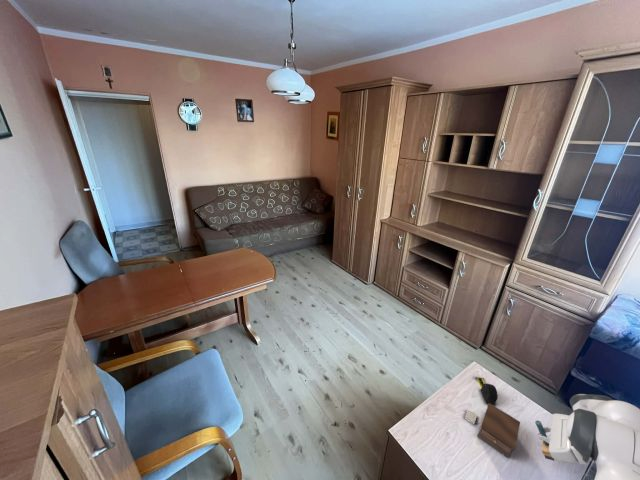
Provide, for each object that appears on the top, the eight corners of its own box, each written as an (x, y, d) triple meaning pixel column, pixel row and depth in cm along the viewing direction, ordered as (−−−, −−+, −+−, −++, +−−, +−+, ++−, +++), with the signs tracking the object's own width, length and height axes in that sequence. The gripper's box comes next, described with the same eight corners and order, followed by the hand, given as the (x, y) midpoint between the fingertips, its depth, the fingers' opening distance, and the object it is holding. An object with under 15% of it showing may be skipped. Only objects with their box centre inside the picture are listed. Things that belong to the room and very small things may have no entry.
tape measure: (494, 405, 132) (499, 395, 129) (485, 404, 133) (490, 394, 129) (482, 379, 145) (487, 369, 142) (474, 378, 146) (479, 368, 142)
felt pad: (465, 416, 125) (464, 418, 126) (474, 422, 123) (473, 424, 124) (468, 410, 128) (467, 412, 129) (476, 416, 126) (476, 417, 127)
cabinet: (507, 460, 111) (514, 450, 108) (475, 437, 119) (480, 427, 115) (513, 432, 121) (520, 422, 118) (483, 412, 129) (489, 402, 125)
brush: (554, 461, 106) (542, 430, 106) (544, 458, 108) (532, 428, 108) (555, 444, 111) (543, 415, 111) (546, 442, 114) (534, 414, 114)
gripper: (576, 410, 108) (537, 408, 118) (575, 452, 94) (531, 446, 104) (585, 424, 107) (545, 421, 117) (586, 469, 94) (541, 461, 104)
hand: (539, 433), depth 111 cm, fingers closed on brush, 2 cm apart
